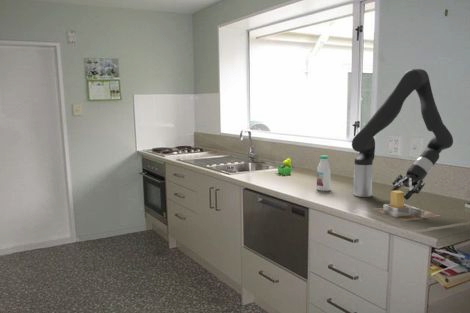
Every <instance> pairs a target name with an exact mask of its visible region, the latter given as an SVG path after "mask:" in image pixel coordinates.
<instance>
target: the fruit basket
mask: <svg viewBox="0 0 470 313" xmlns="http://www.w3.org/2000/svg"><path fill="white" fill-rule="evenodd" d="M282 163H283V164H281V165H276V168H277V172H278V174H280V175H282V176H290V175H291V173H292V170H293V167H292V166H291V165H292V160H291V157H287V158H286V159H285V160H283V162H282Z"/></svg>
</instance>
